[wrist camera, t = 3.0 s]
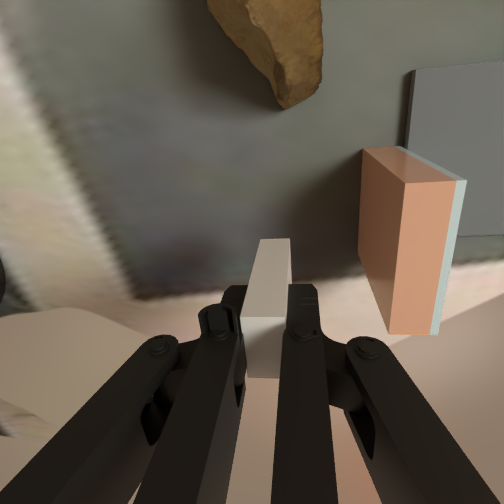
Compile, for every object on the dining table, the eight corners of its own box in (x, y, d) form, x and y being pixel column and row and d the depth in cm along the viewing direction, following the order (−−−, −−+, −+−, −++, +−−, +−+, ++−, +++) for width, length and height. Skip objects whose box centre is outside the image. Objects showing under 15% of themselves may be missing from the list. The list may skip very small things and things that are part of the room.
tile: (357, 252, 26) (388, 334, 17) (362, 148, 23) (405, 183, 14) (389, 251, 26) (437, 334, 17) (399, 145, 22) (467, 179, 13)
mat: (395, 233, 25) (398, 237, 24) (411, 70, 20) (416, 69, 20) (541, 228, 24) (549, 233, 23) (596, 51, 19) (607, 49, 18)
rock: (364, 112, 20) (395, -134, 14) (270, 146, 15) (262, -211, 9) (239, 99, 26) (227, -73, 21) (145, 120, 21) (96, -98, 16)
